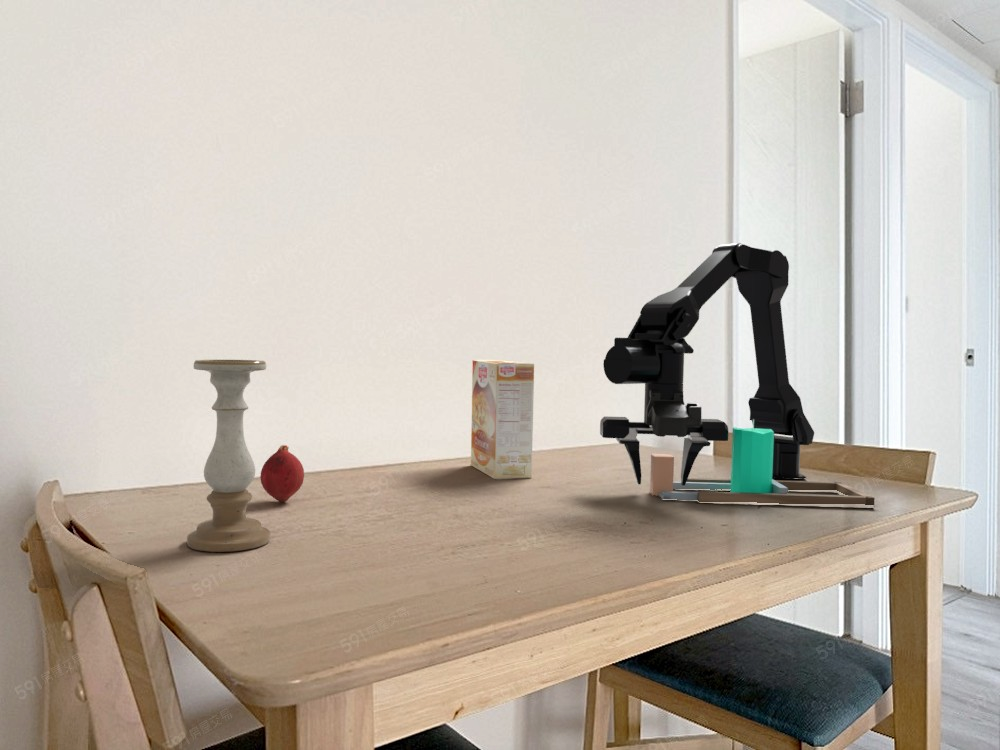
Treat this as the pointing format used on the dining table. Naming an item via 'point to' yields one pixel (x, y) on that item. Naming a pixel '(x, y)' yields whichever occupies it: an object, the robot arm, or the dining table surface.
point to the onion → (282, 474)
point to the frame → (664, 482)
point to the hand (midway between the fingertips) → (661, 484)
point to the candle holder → (229, 464)
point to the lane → (852, 493)
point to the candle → (752, 460)
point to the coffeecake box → (502, 418)
